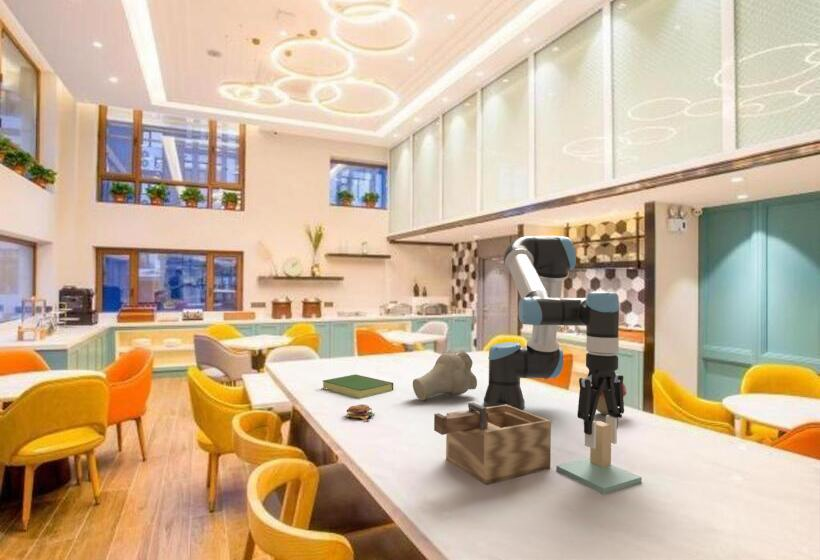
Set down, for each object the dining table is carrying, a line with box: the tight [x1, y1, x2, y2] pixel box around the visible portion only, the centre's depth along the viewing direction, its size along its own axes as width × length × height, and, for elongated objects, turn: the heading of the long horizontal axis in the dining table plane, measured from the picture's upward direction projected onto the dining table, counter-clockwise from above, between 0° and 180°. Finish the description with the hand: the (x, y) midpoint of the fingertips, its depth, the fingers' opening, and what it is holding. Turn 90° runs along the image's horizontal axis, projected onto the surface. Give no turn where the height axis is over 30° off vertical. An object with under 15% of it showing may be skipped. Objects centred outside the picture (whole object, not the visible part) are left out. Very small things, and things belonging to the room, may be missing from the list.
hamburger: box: [346, 404, 376, 423], centre depth 157 cm, size 14×14×6 cm
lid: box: [555, 420, 643, 494], centre depth 112 cm, size 13×14×12 cm
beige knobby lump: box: [412, 349, 478, 402], centre depth 186 cm, size 22×22×28 cm
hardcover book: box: [322, 373, 394, 399], centre depth 198 cm, size 25×19×4 cm
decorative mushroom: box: [593, 382, 627, 416], centre depth 164 cm, size 13×13×15 cm
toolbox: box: [445, 402, 552, 485], centre depth 118 cm, size 24×17×17 cm
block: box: [433, 411, 488, 436], centre depth 109 cm, size 13×3×4 cm, turn 118°
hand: (600, 444), depth 117 cm, fingers open, 7 cm apart
